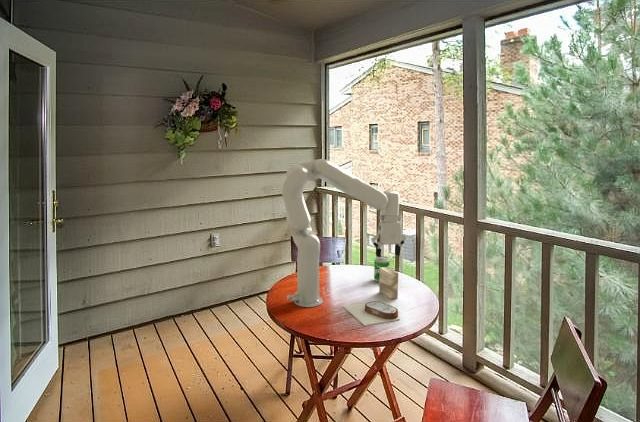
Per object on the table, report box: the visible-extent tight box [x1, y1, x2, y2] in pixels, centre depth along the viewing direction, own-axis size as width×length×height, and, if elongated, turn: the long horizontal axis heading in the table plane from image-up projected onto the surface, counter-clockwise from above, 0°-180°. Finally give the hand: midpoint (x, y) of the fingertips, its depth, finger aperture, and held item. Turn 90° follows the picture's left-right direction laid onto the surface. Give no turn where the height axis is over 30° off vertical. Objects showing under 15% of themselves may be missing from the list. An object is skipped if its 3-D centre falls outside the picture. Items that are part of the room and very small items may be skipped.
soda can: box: [373, 255, 390, 283], centre depth 220 cm, size 8×8×12 cm
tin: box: [365, 300, 399, 319], centre depth 179 cm, size 15×3×8 cm
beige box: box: [378, 266, 399, 301], centre depth 200 cm, size 4×10×12 cm, turn 20°
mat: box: [343, 301, 401, 327], centre depth 180 cm, size 16×20×1 cm
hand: (387, 255), depth 198 cm, fingers open, 9 cm apart
